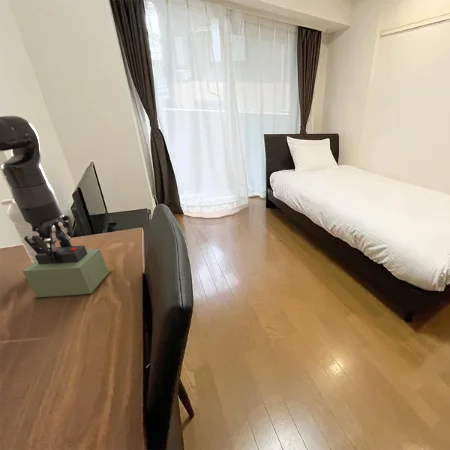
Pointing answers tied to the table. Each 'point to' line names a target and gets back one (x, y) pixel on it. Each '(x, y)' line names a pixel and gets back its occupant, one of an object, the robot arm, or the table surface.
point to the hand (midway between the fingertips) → (63, 257)
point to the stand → (67, 276)
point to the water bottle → (20, 225)
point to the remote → (64, 254)
